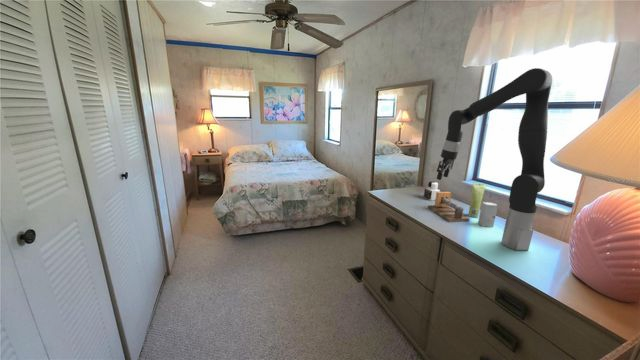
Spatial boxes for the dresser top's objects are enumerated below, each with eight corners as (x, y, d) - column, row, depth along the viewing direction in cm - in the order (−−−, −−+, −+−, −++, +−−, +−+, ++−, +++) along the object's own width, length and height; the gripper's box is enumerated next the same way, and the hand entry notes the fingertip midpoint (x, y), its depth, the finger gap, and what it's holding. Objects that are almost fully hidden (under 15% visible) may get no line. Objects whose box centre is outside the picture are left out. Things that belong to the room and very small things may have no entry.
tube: (470, 213, 154) (476, 182, 149) (479, 216, 150) (486, 184, 145) (466, 215, 150) (472, 183, 145) (476, 218, 146) (482, 185, 142)
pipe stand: (469, 221, 142) (471, 206, 140) (448, 221, 141) (451, 207, 138) (445, 207, 163) (447, 194, 161) (427, 207, 162) (429, 194, 160)
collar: (449, 206, 156) (451, 192, 154) (436, 206, 155) (438, 193, 153) (446, 204, 159) (448, 191, 156) (434, 205, 158) (436, 191, 155)
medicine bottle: (423, 197, 182) (425, 181, 179) (431, 196, 184) (434, 180, 181) (430, 200, 175) (432, 183, 172) (438, 199, 177) (441, 183, 174)
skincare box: (481, 226, 136) (485, 204, 133) (477, 222, 140) (481, 201, 137) (493, 227, 136) (498, 205, 133) (489, 223, 140) (493, 202, 137)
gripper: (452, 152, 128) (443, 182, 133) (462, 149, 137) (454, 178, 143) (437, 148, 133) (429, 178, 138) (448, 146, 142) (440, 173, 148)
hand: (442, 178), depth 141 cm, fingers open, 8 cm apart
